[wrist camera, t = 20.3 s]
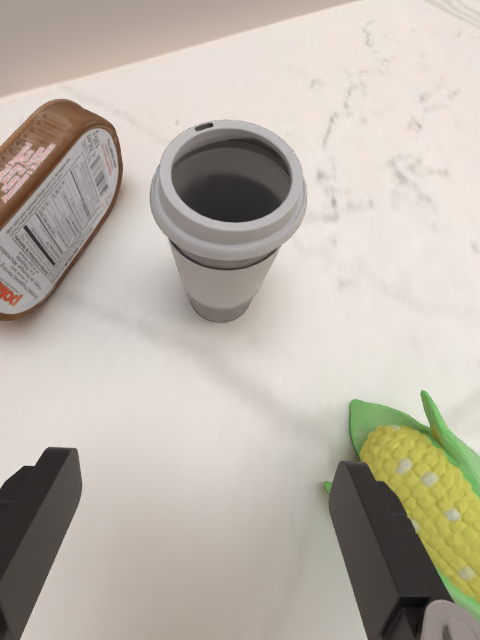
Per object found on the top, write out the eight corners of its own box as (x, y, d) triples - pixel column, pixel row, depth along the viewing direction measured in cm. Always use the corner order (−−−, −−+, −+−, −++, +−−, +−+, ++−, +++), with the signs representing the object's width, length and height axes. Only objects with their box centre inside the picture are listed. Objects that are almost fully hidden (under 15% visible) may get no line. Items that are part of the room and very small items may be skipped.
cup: (241, 241, 26) (267, 95, 15) (283, 311, 25) (347, 203, 14) (157, 275, 25) (118, 138, 14) (196, 353, 23) (187, 269, 12)
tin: (105, 171, 28) (65, 63, 20) (139, 185, 27) (112, 82, 20) (-13, 325, 22) (-133, 262, 14) (28, 344, 22) (-70, 290, 14)
